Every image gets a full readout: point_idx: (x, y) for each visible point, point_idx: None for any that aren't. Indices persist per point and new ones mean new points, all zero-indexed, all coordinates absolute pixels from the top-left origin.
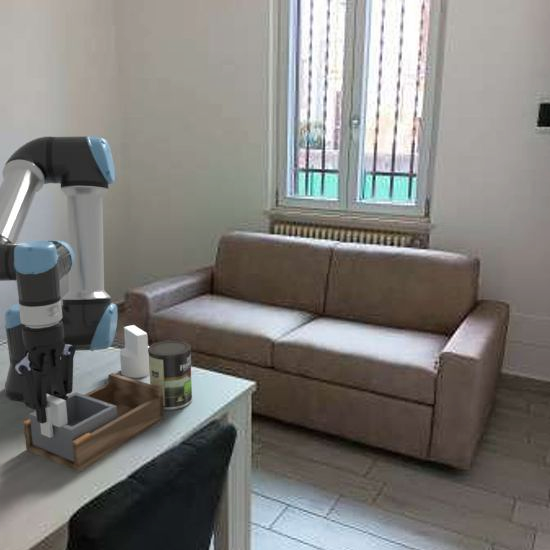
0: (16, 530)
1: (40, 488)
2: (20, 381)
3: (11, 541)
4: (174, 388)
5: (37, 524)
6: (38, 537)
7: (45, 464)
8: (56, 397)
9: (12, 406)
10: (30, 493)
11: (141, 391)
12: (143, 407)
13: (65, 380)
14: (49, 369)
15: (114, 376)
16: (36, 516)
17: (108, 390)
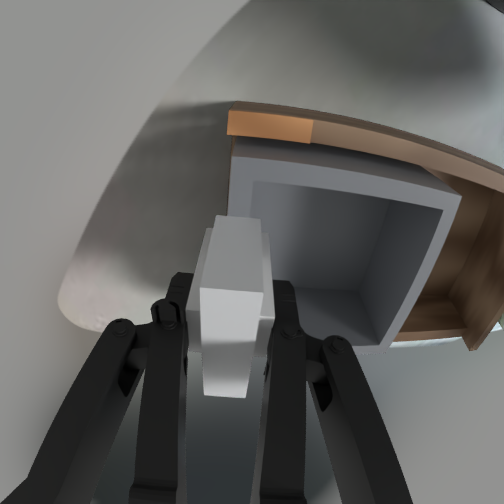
0: (71, 300)
1: (142, 261)
2: (47, 445)
3: (61, 308)
4: (499, 322)
5: (96, 314)
6: (88, 328)
7: (206, 205)
8: (247, 370)
9: None
10: (122, 257)
11: (490, 296)
12: (424, 339)
13: (326, 415)
14: (255, 494)
15: None
16: (101, 304)
17: None
